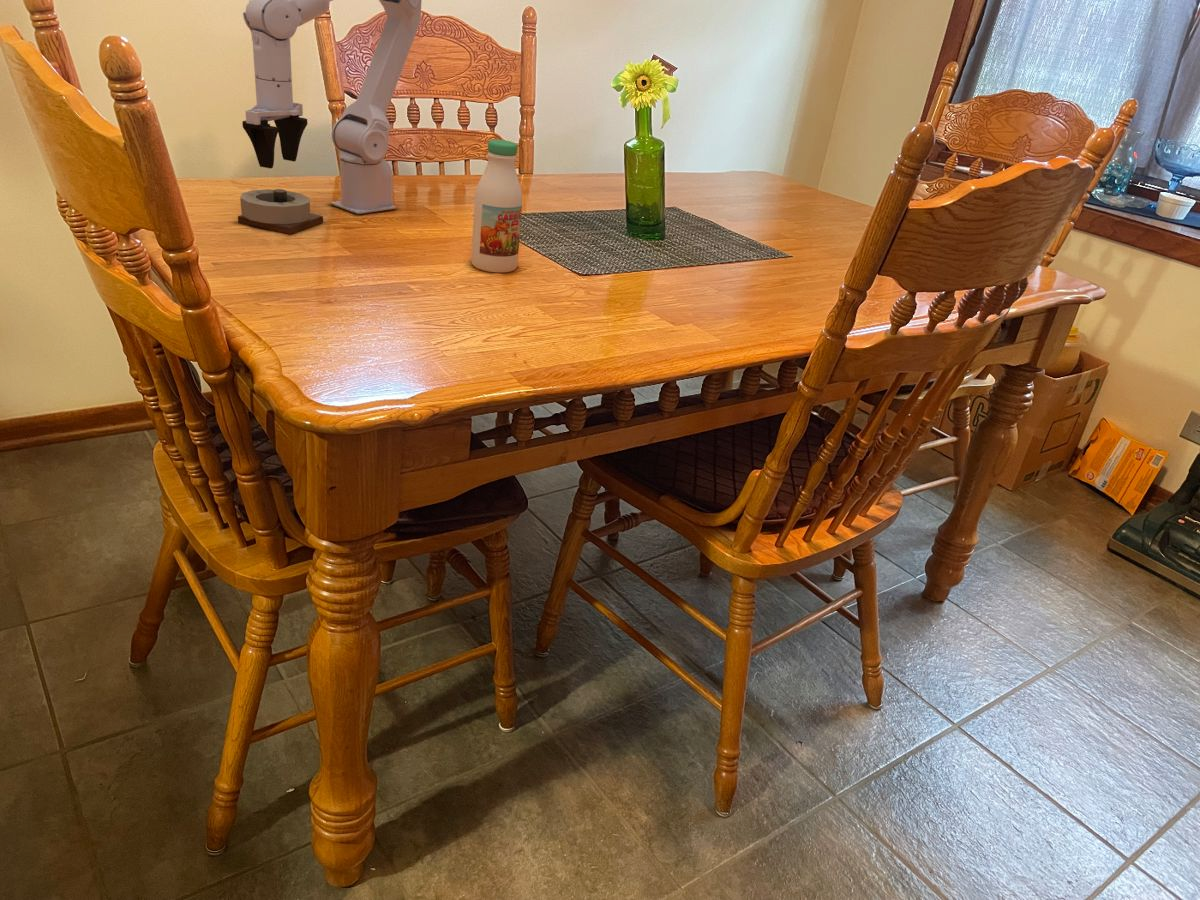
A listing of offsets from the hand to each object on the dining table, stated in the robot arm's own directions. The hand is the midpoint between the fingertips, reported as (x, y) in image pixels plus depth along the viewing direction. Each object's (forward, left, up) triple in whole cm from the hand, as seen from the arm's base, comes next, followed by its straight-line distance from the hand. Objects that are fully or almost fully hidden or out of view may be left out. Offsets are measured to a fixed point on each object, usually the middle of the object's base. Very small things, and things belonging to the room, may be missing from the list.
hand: (278, 163), depth 142 cm
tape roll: (+3, +3, -8) cm, 9 cm away
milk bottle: (-12, +40, -9) cm, 43 cm away
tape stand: (+3, +4, -9) cm, 10 cm away
